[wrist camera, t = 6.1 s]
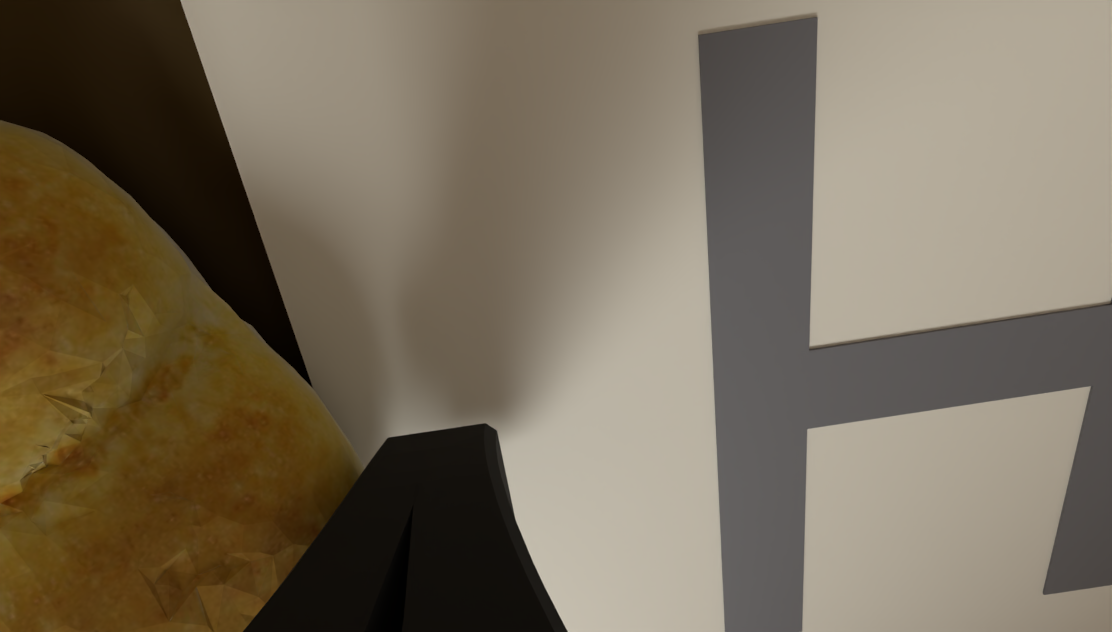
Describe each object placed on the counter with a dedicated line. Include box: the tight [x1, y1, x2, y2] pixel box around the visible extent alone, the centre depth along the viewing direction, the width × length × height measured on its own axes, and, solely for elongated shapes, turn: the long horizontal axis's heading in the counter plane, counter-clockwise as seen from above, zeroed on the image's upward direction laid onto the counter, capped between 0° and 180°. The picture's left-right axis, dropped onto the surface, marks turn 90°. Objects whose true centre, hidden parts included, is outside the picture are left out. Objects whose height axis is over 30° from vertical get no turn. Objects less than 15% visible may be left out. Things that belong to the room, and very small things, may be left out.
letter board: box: [180, 0, 1112, 632], centre depth 10 cm, size 12×16×1 cm
